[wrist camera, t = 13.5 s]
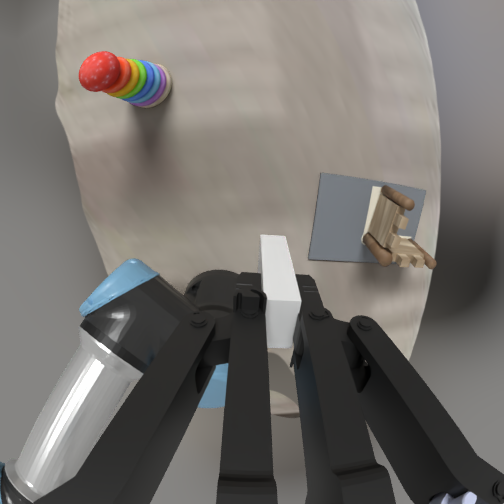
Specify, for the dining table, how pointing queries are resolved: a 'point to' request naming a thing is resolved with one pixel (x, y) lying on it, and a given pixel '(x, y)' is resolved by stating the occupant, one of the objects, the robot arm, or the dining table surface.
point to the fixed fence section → (399, 253)
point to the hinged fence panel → (390, 217)
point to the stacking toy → (126, 79)
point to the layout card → (353, 217)
